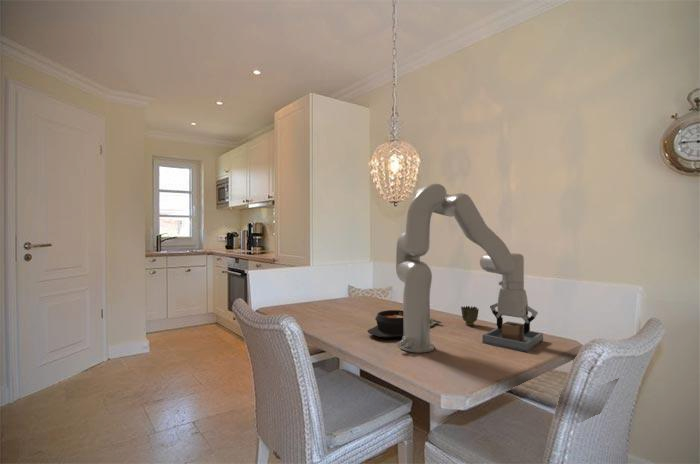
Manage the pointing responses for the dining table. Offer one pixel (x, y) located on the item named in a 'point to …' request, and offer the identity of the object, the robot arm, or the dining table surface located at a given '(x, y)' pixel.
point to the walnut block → (513, 331)
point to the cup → (469, 315)
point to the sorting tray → (526, 345)
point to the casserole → (388, 324)
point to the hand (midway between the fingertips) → (512, 330)
